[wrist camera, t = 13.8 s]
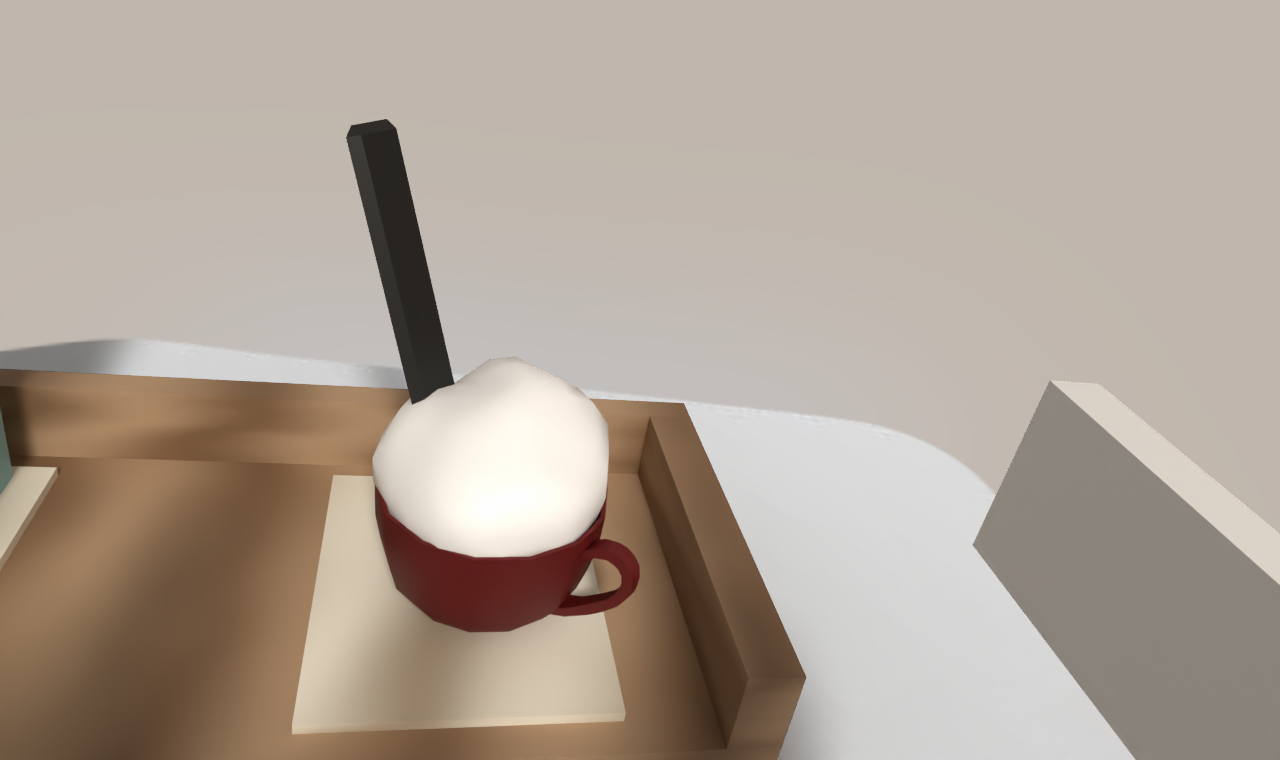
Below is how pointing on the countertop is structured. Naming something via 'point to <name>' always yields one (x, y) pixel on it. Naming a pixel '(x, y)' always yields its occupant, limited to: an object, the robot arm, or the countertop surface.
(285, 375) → the countertop surface
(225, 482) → the tray
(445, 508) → the cocoa
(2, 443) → the teal carton
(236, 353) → the countertop surface
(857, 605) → the countertop surface
